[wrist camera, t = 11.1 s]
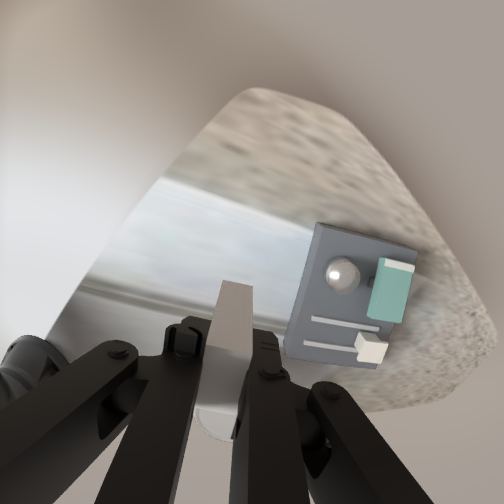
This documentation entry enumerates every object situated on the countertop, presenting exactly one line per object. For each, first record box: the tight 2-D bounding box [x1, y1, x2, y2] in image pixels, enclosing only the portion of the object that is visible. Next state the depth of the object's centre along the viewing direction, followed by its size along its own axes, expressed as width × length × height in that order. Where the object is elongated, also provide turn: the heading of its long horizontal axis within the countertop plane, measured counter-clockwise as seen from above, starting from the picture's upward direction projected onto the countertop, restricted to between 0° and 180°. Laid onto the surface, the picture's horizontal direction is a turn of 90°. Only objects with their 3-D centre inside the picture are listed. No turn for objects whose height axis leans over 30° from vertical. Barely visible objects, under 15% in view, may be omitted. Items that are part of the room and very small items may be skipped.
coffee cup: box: [193, 408, 238, 443], centre depth 38 cm, size 9×9×12 cm
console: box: [283, 222, 418, 369], centre depth 40 cm, size 13×17×5 cm
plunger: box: [323, 256, 360, 294], centre depth 35 cm, size 4×4×3 cm
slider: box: [354, 331, 389, 364], centre depth 37 cm, size 3×3×4 cm
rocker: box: [366, 258, 415, 323], centre depth 35 cm, size 4×7×2 cm, turn 168°
